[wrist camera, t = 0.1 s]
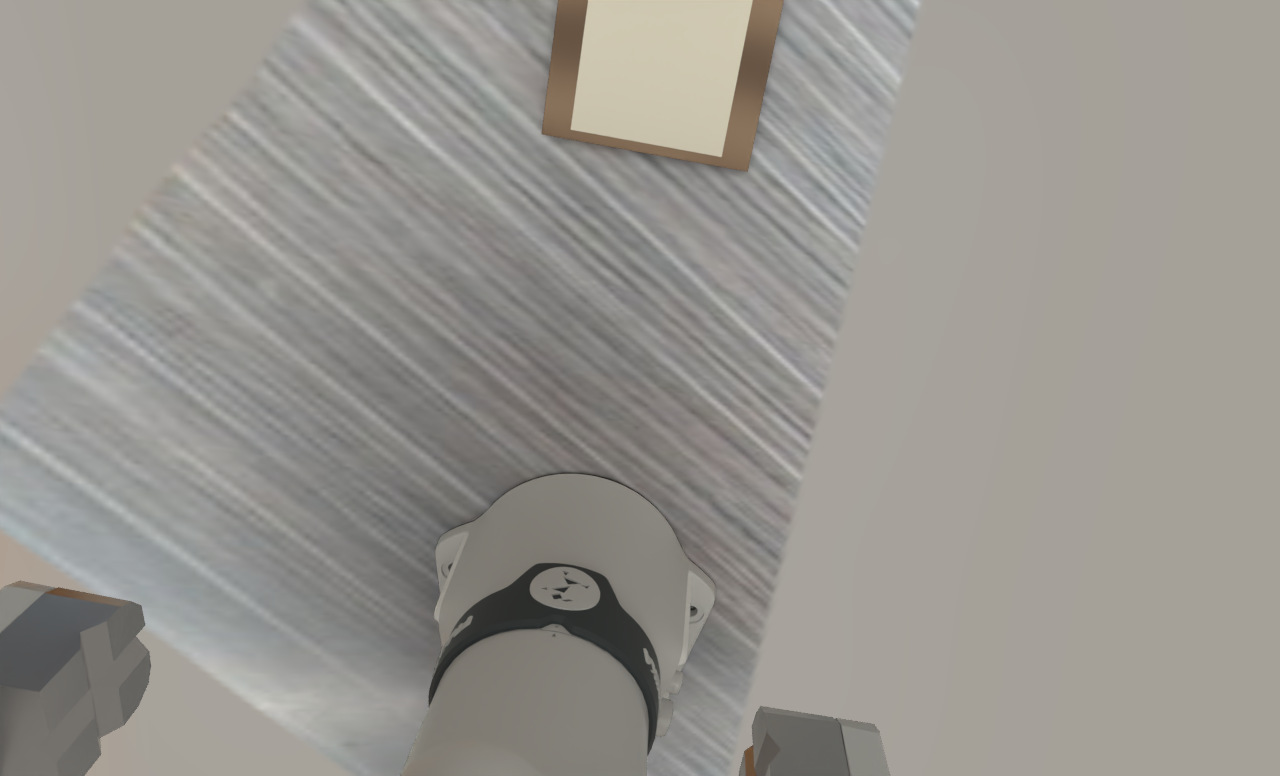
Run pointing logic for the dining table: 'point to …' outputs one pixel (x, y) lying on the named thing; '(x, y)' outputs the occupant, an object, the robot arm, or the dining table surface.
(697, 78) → the walnut base
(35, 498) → the dining table surface
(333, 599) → the dining table surface
